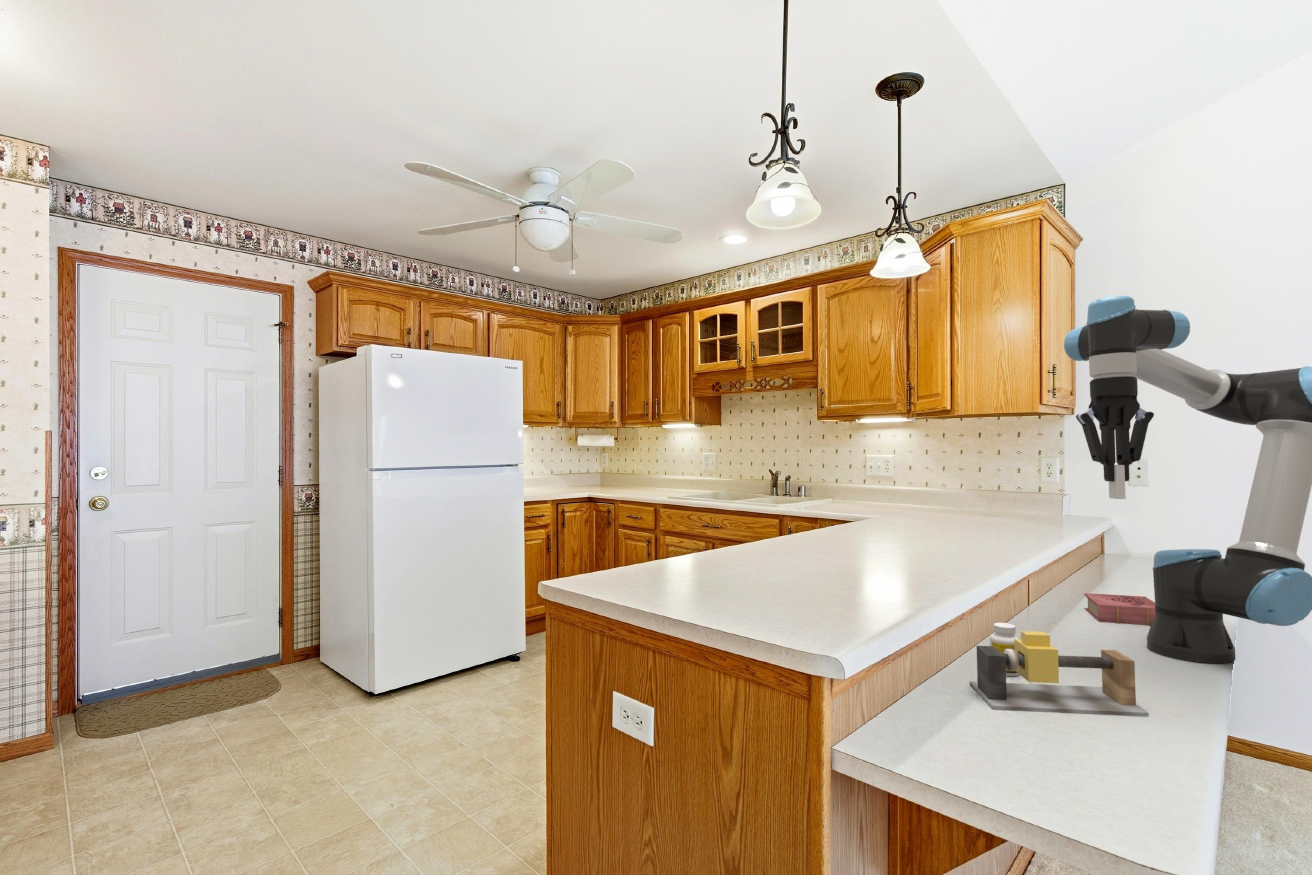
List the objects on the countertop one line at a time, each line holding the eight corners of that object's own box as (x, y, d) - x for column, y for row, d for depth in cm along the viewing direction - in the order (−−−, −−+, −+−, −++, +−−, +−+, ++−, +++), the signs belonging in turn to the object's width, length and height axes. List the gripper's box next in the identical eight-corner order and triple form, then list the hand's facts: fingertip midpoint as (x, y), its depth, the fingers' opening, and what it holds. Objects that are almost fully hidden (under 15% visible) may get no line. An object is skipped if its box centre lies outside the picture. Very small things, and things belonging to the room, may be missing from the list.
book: (1099, 623, 166) (1098, 604, 166) (1085, 610, 180) (1084, 592, 180) (1166, 628, 161) (1165, 609, 161) (1146, 614, 175) (1145, 596, 175)
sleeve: (1043, 671, 118) (1042, 629, 119) (1059, 683, 113) (1057, 638, 113) (1015, 670, 119) (1014, 628, 119) (1028, 682, 113) (1027, 637, 114)
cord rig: (1109, 690, 119) (1107, 643, 120) (1148, 716, 107) (1146, 663, 108) (969, 684, 123) (968, 638, 123) (992, 709, 111) (991, 658, 112)
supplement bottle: (1024, 677, 126) (1023, 629, 127) (995, 676, 128) (994, 627, 128) (1015, 668, 132) (1013, 621, 132) (987, 667, 133) (985, 620, 133)
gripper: (1138, 378, 125) (1142, 496, 124) (1067, 380, 127) (1071, 497, 126) (1162, 373, 118) (1167, 499, 117) (1086, 376, 120) (1090, 500, 119)
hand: (1117, 498), depth 122 cm, fingers closed
